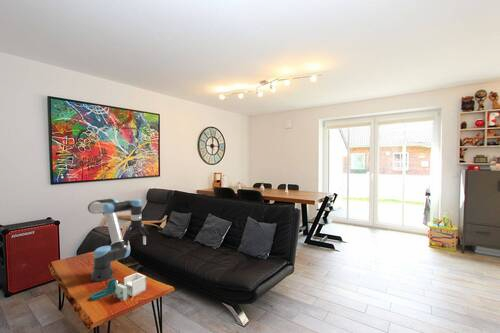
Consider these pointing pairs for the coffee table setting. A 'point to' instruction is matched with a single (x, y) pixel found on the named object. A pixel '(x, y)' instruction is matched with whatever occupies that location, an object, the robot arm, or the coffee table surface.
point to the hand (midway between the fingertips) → (136, 246)
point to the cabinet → (135, 284)
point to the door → (121, 291)
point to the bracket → (105, 290)
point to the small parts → (115, 292)
